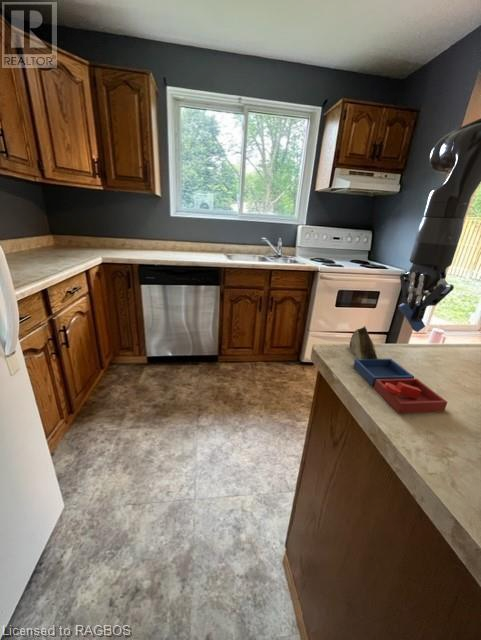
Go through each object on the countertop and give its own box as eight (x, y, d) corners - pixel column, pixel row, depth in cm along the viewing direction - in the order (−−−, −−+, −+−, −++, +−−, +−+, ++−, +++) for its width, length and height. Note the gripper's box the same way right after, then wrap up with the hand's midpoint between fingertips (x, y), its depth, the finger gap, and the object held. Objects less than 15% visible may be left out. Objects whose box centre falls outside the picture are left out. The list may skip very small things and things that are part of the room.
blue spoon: (410, 328, 65) (418, 322, 64) (420, 333, 62) (428, 327, 61) (396, 304, 62) (404, 298, 62) (405, 308, 59) (414, 302, 59)
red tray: (413, 387, 64) (416, 378, 63) (444, 411, 56) (447, 402, 55) (373, 388, 63) (375, 379, 62) (398, 413, 55) (401, 403, 54)
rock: (341, 339, 84) (337, 345, 75) (363, 320, 80) (362, 324, 71) (367, 366, 81) (367, 375, 72) (391, 348, 78) (394, 356, 69)
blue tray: (388, 366, 73) (391, 358, 72) (411, 385, 65) (414, 376, 64) (353, 367, 72) (354, 359, 71) (371, 386, 63) (374, 377, 63)
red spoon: (409, 393, 61) (414, 385, 60) (419, 402, 58) (425, 393, 57) (380, 384, 59) (385, 376, 58) (389, 393, 56) (395, 384, 55)
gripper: (482, 245, 50) (452, 331, 56) (427, 240, 63) (407, 310, 69) (446, 243, 49) (419, 331, 55) (397, 238, 62) (380, 310, 68)
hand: (412, 319), depth 62 cm, fingers closed on blue spoon, 1 cm apart
